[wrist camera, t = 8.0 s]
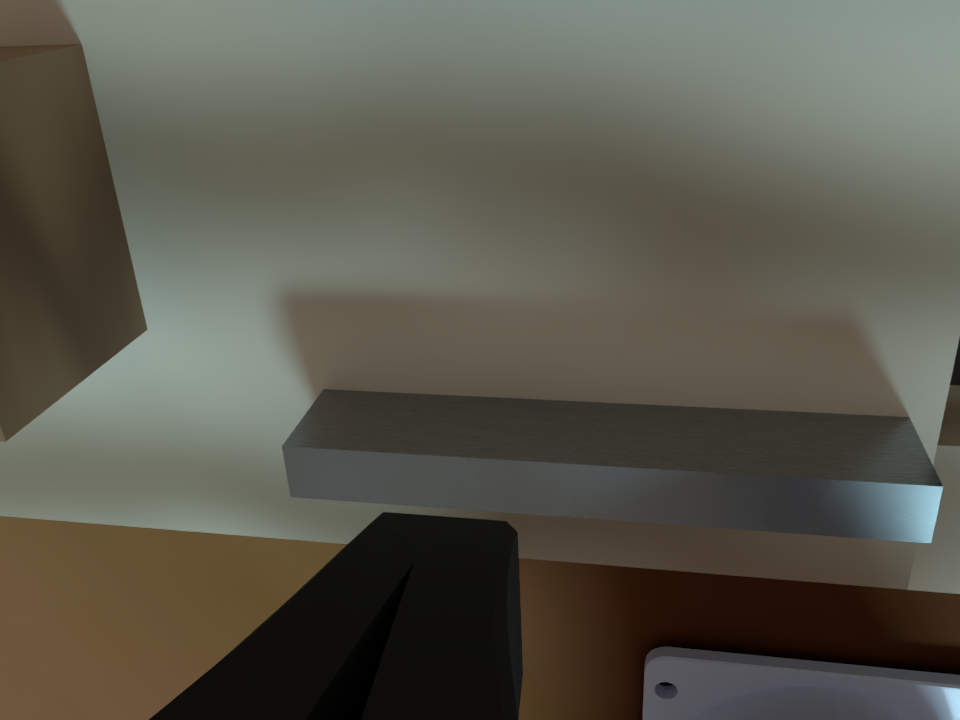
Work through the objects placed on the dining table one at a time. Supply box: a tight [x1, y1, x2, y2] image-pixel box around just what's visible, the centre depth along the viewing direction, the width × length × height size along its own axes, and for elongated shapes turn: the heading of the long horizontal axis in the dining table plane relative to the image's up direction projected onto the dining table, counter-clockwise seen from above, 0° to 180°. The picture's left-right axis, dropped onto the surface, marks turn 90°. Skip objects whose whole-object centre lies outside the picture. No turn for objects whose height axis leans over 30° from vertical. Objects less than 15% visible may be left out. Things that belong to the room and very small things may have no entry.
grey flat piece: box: [0, 0, 960, 594], centre depth 15 cm, size 14×28×2 cm, turn 93°
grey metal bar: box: [282, 389, 943, 543], centre depth 13 cm, size 9×10×2 cm
